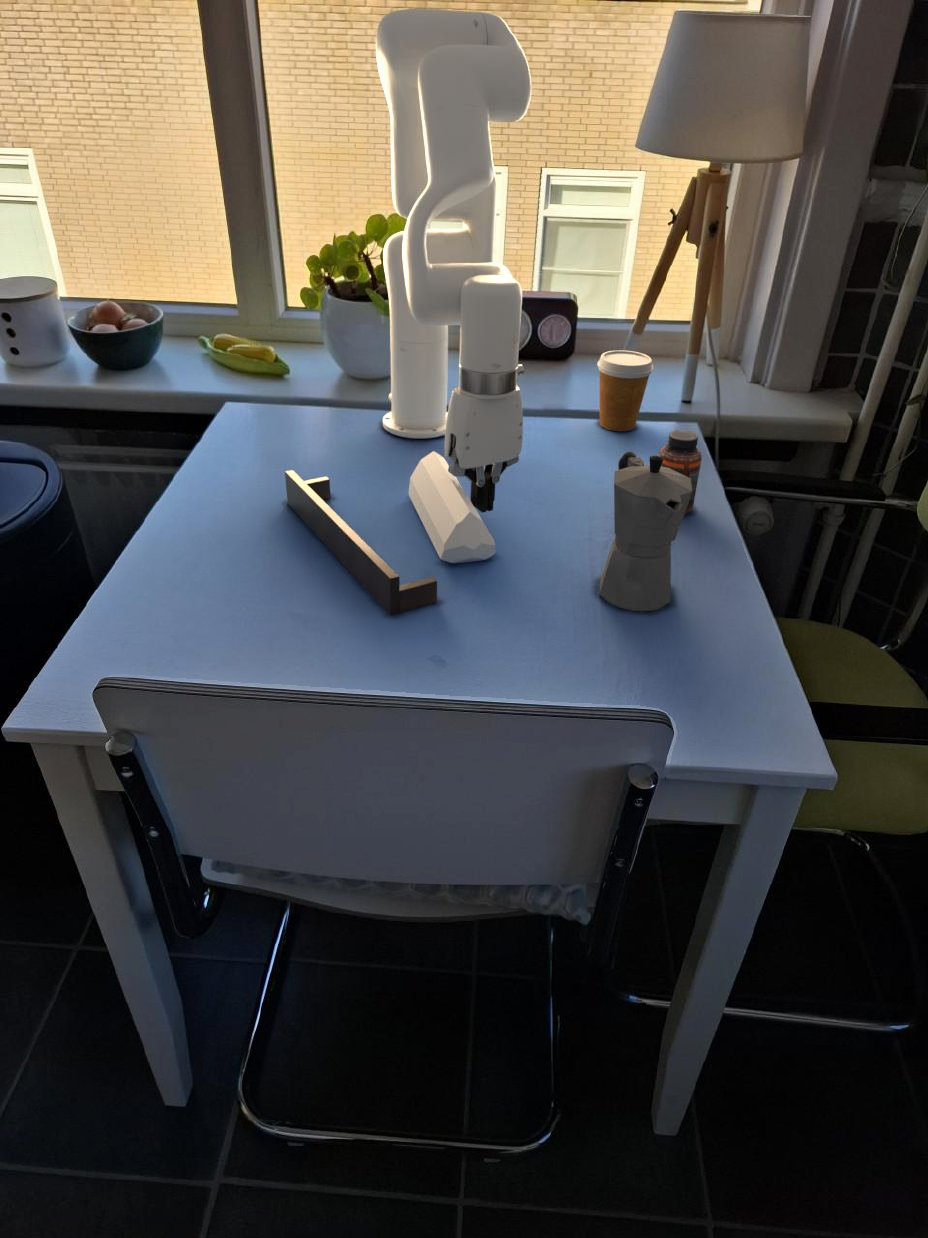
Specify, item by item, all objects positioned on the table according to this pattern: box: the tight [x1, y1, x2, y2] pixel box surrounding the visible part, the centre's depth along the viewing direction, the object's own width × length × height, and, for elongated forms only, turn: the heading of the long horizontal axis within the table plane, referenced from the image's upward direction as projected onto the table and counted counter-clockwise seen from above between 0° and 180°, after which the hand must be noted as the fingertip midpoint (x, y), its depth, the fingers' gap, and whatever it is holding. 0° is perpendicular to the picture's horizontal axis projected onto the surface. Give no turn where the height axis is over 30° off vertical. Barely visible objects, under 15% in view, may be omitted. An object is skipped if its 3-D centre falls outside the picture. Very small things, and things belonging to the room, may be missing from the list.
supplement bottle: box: [658, 429, 703, 515], centre depth 125 cm, size 6×6×11 cm
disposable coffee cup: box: [596, 349, 654, 432], centre depth 152 cm, size 10×10×12 cm
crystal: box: [408, 450, 497, 564], centre depth 120 cm, size 7×7×24 cm
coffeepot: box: [599, 451, 692, 613], centre depth 104 cm, size 15×9×18 cm, turn 13°
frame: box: [284, 469, 438, 616], centre depth 114 cm, size 33×6×5 cm, turn 30°
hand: (482, 507), depth 123 cm, fingers closed
